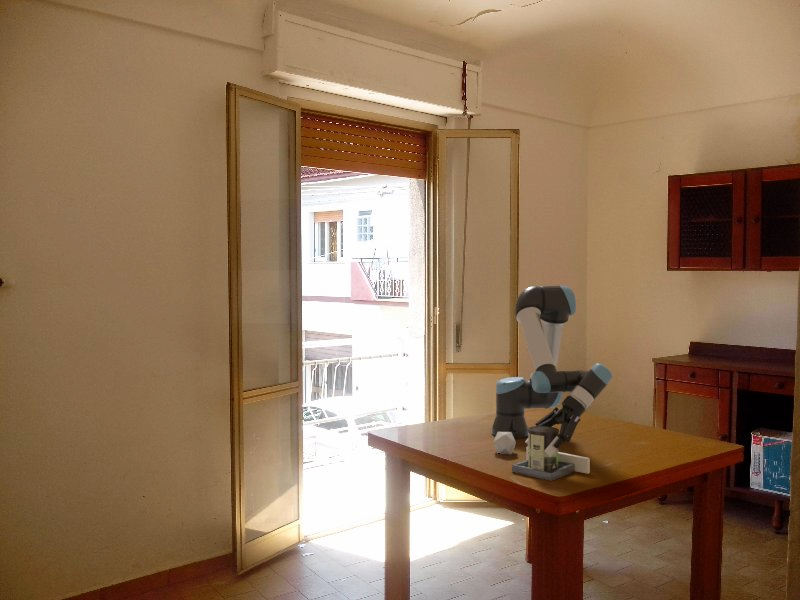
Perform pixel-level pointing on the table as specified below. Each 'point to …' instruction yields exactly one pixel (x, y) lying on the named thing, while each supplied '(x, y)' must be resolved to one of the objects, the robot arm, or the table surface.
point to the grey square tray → (561, 471)
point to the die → (504, 442)
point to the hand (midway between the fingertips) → (537, 449)
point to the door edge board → (573, 461)
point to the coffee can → (542, 448)
